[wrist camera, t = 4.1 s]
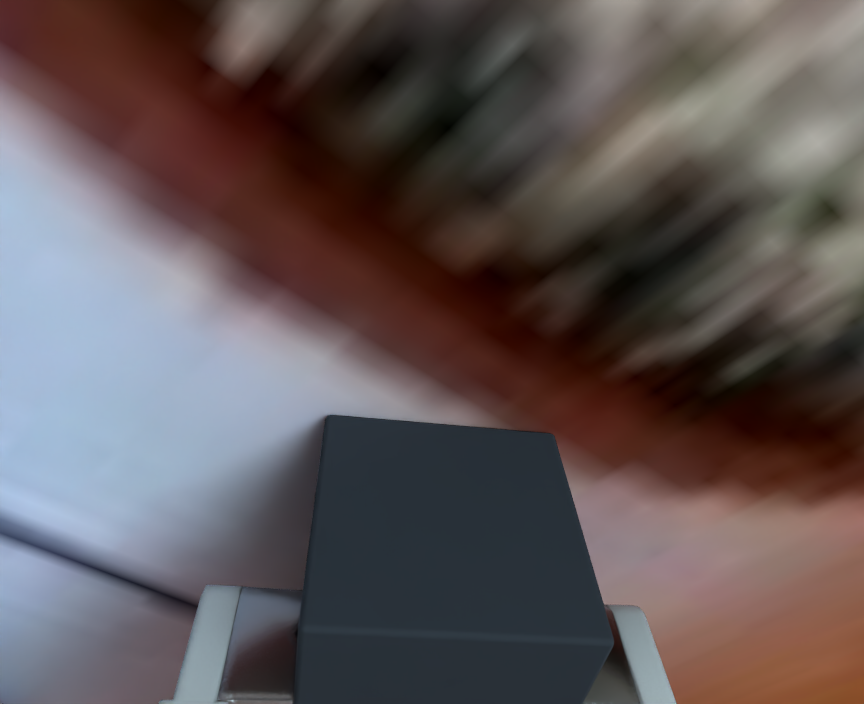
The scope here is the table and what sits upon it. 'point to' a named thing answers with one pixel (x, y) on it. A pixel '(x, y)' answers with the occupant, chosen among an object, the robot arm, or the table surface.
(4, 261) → the table surface
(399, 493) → the dark rectangular block
